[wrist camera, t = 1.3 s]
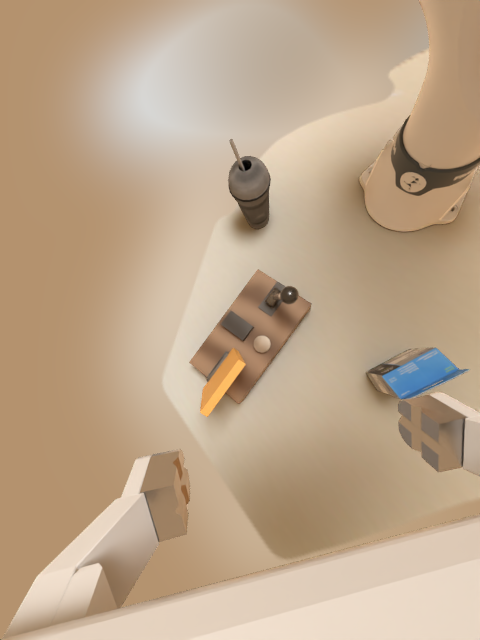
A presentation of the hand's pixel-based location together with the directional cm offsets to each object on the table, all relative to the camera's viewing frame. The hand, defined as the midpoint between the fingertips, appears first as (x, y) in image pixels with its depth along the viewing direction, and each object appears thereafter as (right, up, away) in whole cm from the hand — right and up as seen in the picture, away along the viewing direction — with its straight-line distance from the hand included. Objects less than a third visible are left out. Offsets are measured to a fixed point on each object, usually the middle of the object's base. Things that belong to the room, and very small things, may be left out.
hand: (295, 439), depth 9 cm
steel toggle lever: (+4, +8, +37) cm, 38 cm away
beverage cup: (+2, +26, +46) cm, 53 cm away
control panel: (0, +1, +42) cm, 42 cm away
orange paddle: (-5, -4, +37) cm, 37 cm away
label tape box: (+25, -5, +36) cm, 44 cm away
